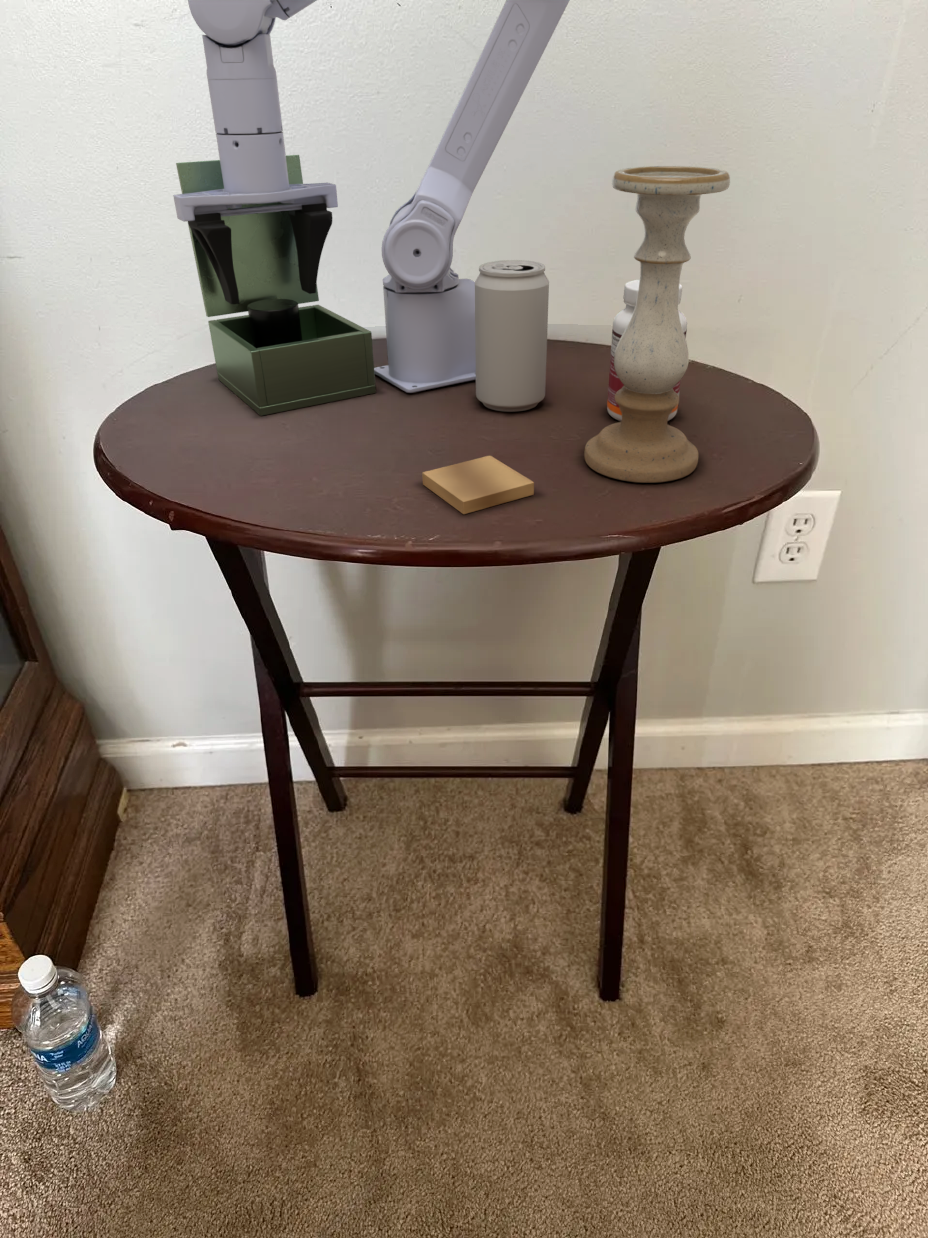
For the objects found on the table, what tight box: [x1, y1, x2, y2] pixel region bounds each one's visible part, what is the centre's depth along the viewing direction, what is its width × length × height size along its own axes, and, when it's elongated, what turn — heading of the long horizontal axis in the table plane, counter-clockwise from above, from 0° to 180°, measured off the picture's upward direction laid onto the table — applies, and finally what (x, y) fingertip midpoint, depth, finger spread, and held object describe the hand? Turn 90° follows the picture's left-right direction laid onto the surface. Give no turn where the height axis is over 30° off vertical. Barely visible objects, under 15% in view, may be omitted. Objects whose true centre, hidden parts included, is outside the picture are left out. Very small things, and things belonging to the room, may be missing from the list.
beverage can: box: [474, 259, 550, 413], centre depth 75 cm, size 6×6×12 cm
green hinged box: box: [207, 304, 377, 417], centre depth 82 cm, size 13×12×6 cm
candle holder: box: [583, 165, 731, 484], centre depth 61 cm, size 9×9×20 cm
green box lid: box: [175, 154, 320, 318], centre depth 81 cm, size 13×12×1 cm
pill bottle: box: [606, 279, 688, 422], centre depth 72 cm, size 6×6×11 cm
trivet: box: [421, 455, 535, 515], centre depth 62 cm, size 6×6×1 cm
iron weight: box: [247, 299, 303, 349], centre depth 83 cm, size 5×5×6 cm
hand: (271, 296), depth 81 cm, fingers open, 7 cm apart
